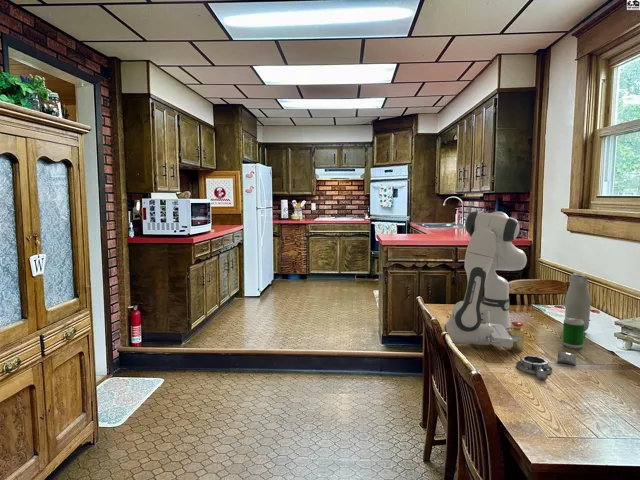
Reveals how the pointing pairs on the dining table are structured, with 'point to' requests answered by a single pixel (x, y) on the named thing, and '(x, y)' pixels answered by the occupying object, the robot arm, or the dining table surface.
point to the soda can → (573, 332)
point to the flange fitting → (534, 366)
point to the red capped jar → (517, 332)
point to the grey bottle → (578, 299)
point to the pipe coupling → (567, 358)
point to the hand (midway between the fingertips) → (519, 336)
